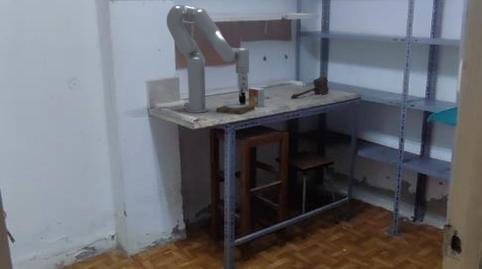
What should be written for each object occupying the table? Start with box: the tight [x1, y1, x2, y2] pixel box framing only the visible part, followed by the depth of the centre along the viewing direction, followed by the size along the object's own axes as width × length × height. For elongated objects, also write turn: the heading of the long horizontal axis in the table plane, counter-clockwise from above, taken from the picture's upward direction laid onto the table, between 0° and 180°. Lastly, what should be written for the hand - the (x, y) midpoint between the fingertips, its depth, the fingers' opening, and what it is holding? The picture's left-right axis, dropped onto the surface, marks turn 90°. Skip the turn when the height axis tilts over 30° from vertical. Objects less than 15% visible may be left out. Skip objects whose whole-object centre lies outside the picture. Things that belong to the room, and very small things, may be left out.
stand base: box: [216, 104, 256, 115], centre depth 284 cm, size 16×16×2 cm
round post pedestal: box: [224, 101, 247, 109], centre depth 282 cm, size 12×12×8 cm
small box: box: [248, 87, 265, 108], centre depth 296 cm, size 8×6×10 cm
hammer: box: [290, 76, 330, 99], centre depth 327 cm, size 7×33×10 cm, turn 130°
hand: (242, 102), depth 283 cm, fingers open, 3 cm apart
